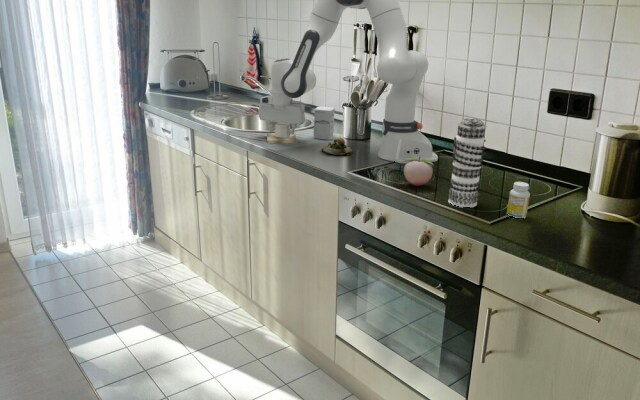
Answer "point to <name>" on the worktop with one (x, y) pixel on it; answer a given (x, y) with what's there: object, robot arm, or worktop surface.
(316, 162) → the worktop surface
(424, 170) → the decorative fruit
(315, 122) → the supplement box
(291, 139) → the stud board
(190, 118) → the worktop surface
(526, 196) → the supplement bottle
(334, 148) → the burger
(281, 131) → the cap
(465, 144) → the decorative candle
